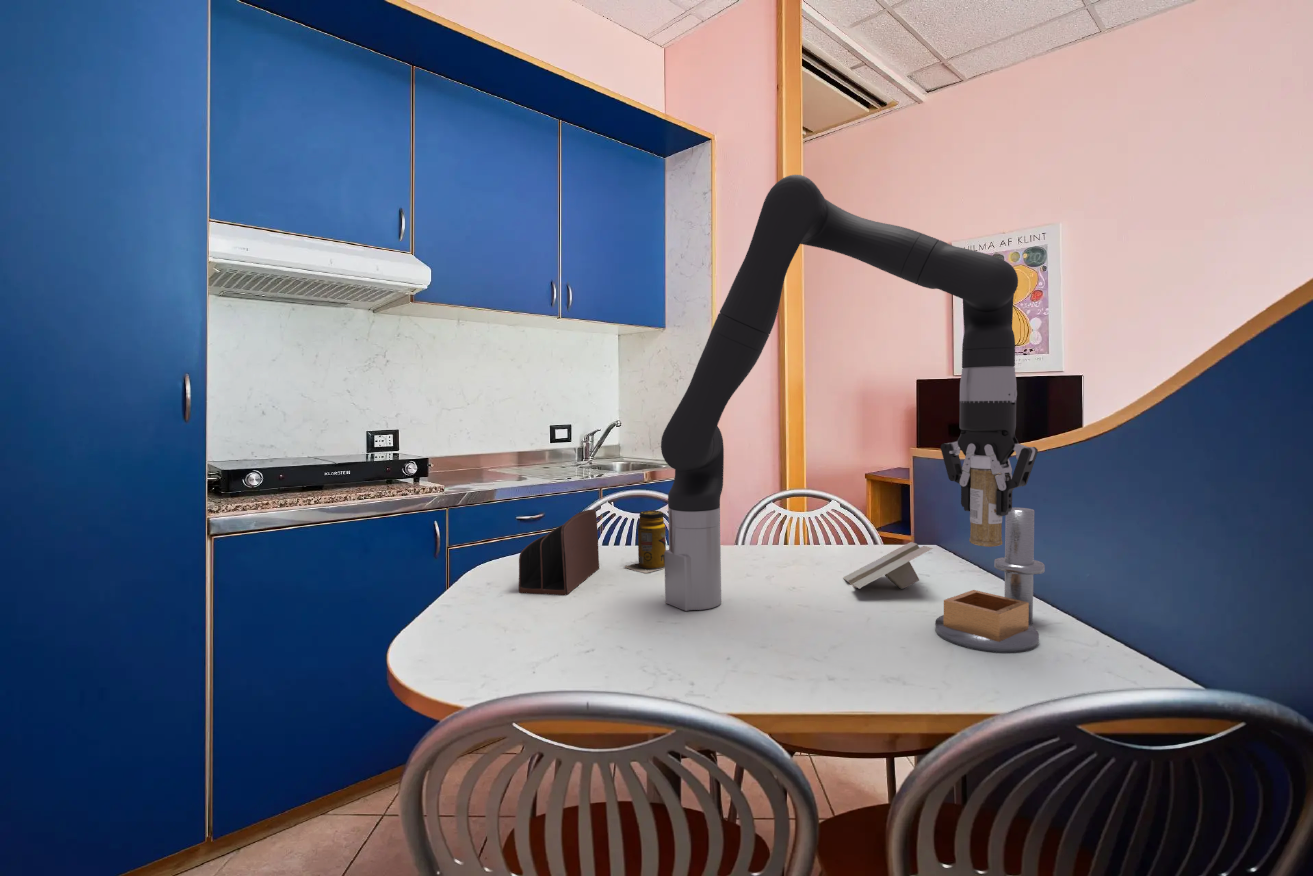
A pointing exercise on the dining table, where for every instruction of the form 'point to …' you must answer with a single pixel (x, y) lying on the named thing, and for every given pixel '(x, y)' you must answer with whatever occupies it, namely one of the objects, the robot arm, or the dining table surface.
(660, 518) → the condiment
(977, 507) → the sprinkles bottle
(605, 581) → the dining table surface
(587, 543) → the letter holder
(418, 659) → the dining table surface
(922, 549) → the tilted grey ramp
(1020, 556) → the caddy stand
